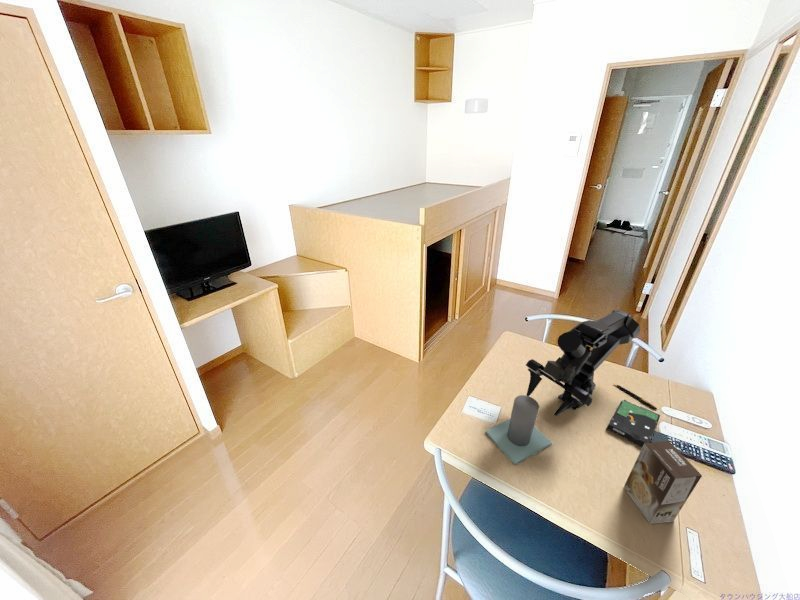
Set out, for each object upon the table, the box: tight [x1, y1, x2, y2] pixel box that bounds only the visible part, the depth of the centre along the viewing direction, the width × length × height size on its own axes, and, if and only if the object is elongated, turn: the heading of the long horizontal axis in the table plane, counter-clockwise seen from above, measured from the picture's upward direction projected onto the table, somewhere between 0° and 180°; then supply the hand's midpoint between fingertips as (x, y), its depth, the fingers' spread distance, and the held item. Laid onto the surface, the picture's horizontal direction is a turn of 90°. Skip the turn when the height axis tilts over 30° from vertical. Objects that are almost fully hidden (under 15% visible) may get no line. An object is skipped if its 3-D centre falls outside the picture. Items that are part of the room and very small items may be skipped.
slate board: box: [485, 418, 553, 466], centre depth 95 cm, size 14×12×1 cm
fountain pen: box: [613, 383, 658, 411], centre depth 109 cm, size 14×1×2 cm, turn 30°
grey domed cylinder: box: [507, 394, 540, 446], centre depth 92 cm, size 6×6×13 cm
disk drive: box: [606, 398, 661, 448], centre depth 99 cm, size 10×3×15 cm
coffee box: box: [623, 440, 703, 525], centre depth 75 cm, size 9×6×16 cm
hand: (540, 405), depth 95 cm, fingers open, 9 cm apart
